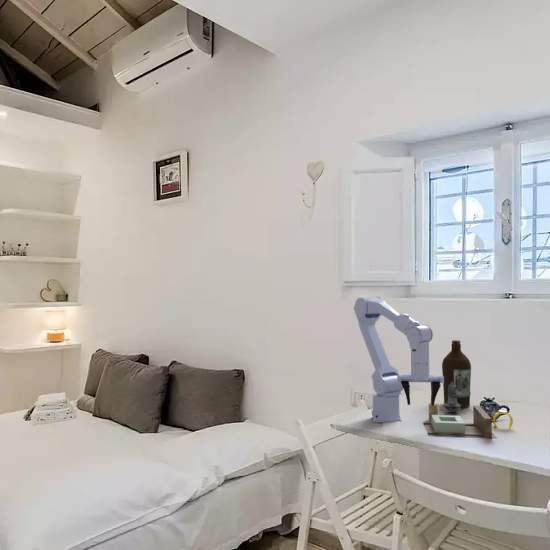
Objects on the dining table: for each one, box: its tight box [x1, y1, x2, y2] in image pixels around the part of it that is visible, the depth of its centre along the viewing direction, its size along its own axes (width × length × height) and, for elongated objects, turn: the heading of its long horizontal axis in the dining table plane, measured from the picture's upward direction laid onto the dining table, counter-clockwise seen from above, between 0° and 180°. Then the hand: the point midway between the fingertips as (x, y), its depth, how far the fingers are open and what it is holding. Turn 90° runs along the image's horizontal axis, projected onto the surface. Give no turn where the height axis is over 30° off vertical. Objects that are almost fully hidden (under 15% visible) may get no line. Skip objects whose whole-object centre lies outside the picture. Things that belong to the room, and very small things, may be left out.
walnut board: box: [422, 405, 498, 440], centre depth 167 cm, size 20×16×7 cm
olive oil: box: [441, 339, 472, 409], centre depth 200 cm, size 11×11×25 cm
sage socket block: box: [431, 414, 466, 433], centre depth 167 cm, size 9×9×3 cm
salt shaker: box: [443, 382, 461, 415], centre depth 187 cm, size 6×6×12 cm
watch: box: [492, 409, 514, 429], centre depth 169 cm, size 6×3×6 cm, turn 86°
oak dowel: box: [428, 402, 439, 422], centre depth 178 cm, size 3×3×6 cm
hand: (420, 404), depth 168 cm, fingers open, 7 cm apart
